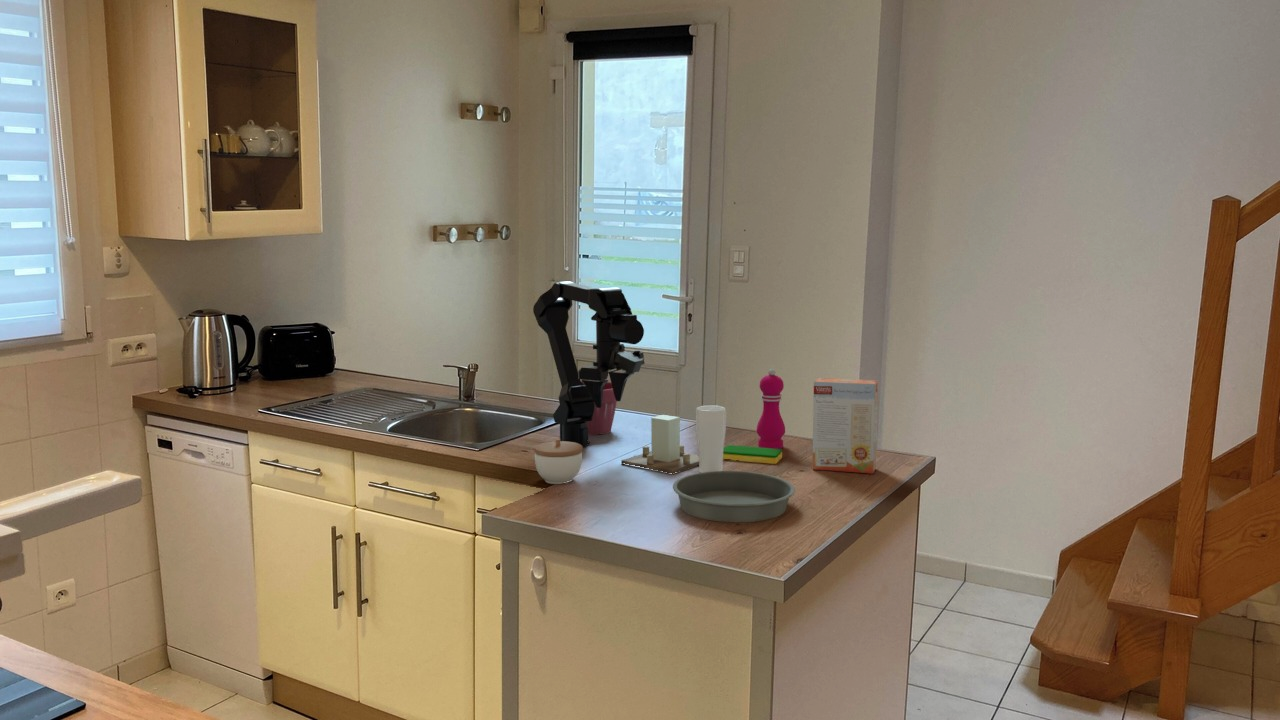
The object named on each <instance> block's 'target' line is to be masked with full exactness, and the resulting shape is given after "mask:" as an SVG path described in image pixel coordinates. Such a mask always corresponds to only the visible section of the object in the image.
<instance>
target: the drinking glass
mask: <svg viewBox="0 0 1280 720" xmlns="http://www.w3.org/2000/svg"><path fill="white" fill-rule="evenodd" d="M726 409H727V408H726V407H724V406H720V405H715V404H714V405H711V404H710V405H707V404H706V405H700V406H697V407H696V412H695V413H696V414H695V415H696V417H695V427H696V438H697V439H696V440H697V453H698V455H699V466H698V470H699V473H702V472H711V471H723V470H724V469H723V465H724V464H723V463H724V462H723V461H724V459H723V452H724V448H725V441H726V429H727V410H726Z"/></svg>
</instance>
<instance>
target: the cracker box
mask: <svg viewBox="0 0 1280 720" xmlns="http://www.w3.org/2000/svg"><path fill="white" fill-rule="evenodd" d="M878 383H879V381H878V380H877V379H876V380H874V379H873V380H872V379H856V378H855V379H853V378H834V377H833V378H830V377H829V378H827V377H817V378H816V379H815V381H813V404H812V405H813V407H812V408H813V409H812V457H811V458H812V464H811V466H812V467H811V468H812V470H817V471H831V472H834V471H835V472H845V473H846V472H849V473H860V474H872V475H873V474H874V472H875V470H876V468H877V436H878V435H877V433H878V432H877V431H878V430H877V429H878V427H877V426H878V387H879V385H878Z"/></svg>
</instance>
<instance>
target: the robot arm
mask: <svg viewBox="0 0 1280 720" xmlns="http://www.w3.org/2000/svg"><path fill="white" fill-rule="evenodd" d="M573 301H574V302H578V303H581V304H585V305H588V308H589V309H590V310H592V311H594V312H595V314H593V315H592V316H591V317H590V320H591V321H594V322H595V321H596V322H595V324H596V325H595V328H596V329H595V330H596V331H595V332H596V333H595V334H596V335H595V336H596V337H595V338H596V339H595V340H596V343H595V344H593V345H592V349H593V350H595V351H596V353H595V354H596V361H593V362H592V365H586V366H582V367H581V368H580V369H579V370H578V367H577V366H578V365H577V363H576V360H575V356H574V352H573V349H572V346H571V343H570V339H569V334H568V330H567V325H568V321H569V319H570V317H569V316H570V315H569V310H570V309H571V308H572V306H573ZM532 311H533V315H534V317H535V321H536V322H537V324H538V326H539V327H540V328H541V329H542V330H543V331H544V333H546V335H547V337H548V341H549V342H548V343H549V344H550V350H551V351H552V356H553V359H554V362H555V363H554V364H555V368H556V370H557V374H558V378H559V381H560V385H561V388H560V392H559V395H558V401H559V405H558V406H557V407H556V410H555V411H554V413H553V414H552V417H553V421H554V423H555V424H559V439H560V441H567V442H574V443H578V444H580V445H582V448H584V447H586V446H588V445H591V442H590V441H589V435H588V428H587V422H586V421H592V417H593V413H594V408H595V405H596V407H597V408H601V407H602V399H603V387H604V385H605V384H606V383H607V382H609V380H608V376H609V379H610V382H611V384H612V388H613V392H614V396H615V399H616V401H617V402H621V401H622V397H623V393H624V391H625V388H626V384H627V381H628V379H630V377H631V376H633V375H634V374H635V373H640V370H641V367H642V366H643V365H645V357H644V352H643V351H641V350H640V349H637V350H634V351H633V352H631V351H629V352H628V351H626V350H625V349H626V348H625V345H624V344H629V345H637V344H638V343H640V342H641V341H642V340H643V338H644V335H645V334H644V333H645V328H644V327H643V324H642V322H641V321H639V320H638V316H637V314H633V312H632V308H631V307H630V305H629V303H628V301H627V298H626V297H625V294H624V293H623V290H622V289H621V288H620V287H617V286H616V287H605V288H603V287H602V288H599V287H598V288H597V287H592V286H587V285H585V284H579V283H575V282H573V281H570V280H569V281H567V280H566V281H557V282H554V283H553V284H552V285H551V287H550V288H549V289H548V290H546V291H545V292H544V293H542V294H541V295H540V296H539V297H538V299H537V300H536V302H535V303H534V305H533V309H532ZM582 382H584V384H585V385H584V384H583V383H582Z"/></svg>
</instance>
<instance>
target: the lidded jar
mask: <svg viewBox="0 0 1280 720" xmlns="http://www.w3.org/2000/svg"><path fill="white" fill-rule="evenodd" d="M583 448H584V447H582V445H580V444H578V443H574V442H567V441H560V438H556V439H555V441H547V442H542V443H541V442H540V443H538V444H536V445H534V447H533V453H534V463H535V468H536V470H537V473H538V475H539V476H540V477H541V478H542V479H543V480H544V482H545V483H547V484H550V485H562V484H561V483H564V482H567V481H570V480H572V479H574V478H576V477H577V475H578V474H579V472H580V470H581V468H582V463H583ZM572 481H573V480H572Z"/></svg>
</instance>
